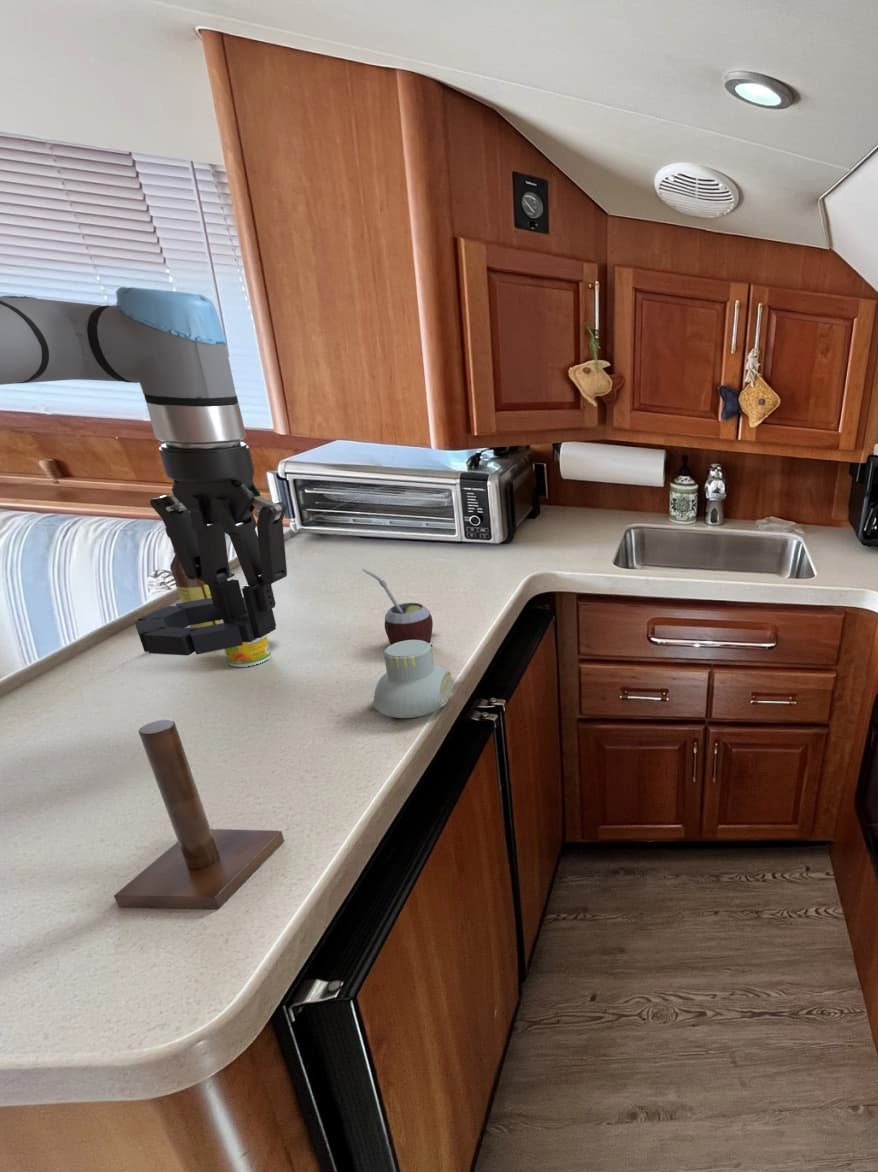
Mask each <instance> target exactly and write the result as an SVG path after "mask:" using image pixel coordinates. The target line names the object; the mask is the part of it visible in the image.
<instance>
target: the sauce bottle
mask: <svg viewBox="0 0 878 1172" xmlns="http://www.w3.org/2000/svg"><path fill="white" fill-rule="evenodd" d="M164 530H165V534H166V536H167V537H168V538H169V540H170V542H171V545H172V548H173V553H174V556H173V558H172V561H171V563H170V566H169V570H170V571H171V574H172V577H173V579H174V582H175V587H176V590H177V592H178V595H179V599H180V601H181V603H183V602H189V601H195V600H201V599H207V598H212V597H211V594H210V590H209V586H208V585H206V584H205V583H204V581H201V580H199V579H194V580H191V579H189V578H188V577H187V576H186V574H185V572H184V570H183V567H182V565H181V562H180V560H179V558H178V555H177V553H176V550H175V548H174V546H173V543H172V541H171V539H170V536H169V534H168V531H167V529H166V527H165V529H164ZM196 566H197V565H196ZM197 567H198V566H197ZM220 621H221V620H217V621H211V622H206V623H201V624H195V625H190V628H199V627H205V626H210V625H215V624H218V623H219V622H220Z"/></svg>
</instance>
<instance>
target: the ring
mask: <svg viewBox="0 0 878 1172" xmlns="http://www.w3.org/2000/svg"><path fill="white" fill-rule="evenodd" d="M242 597H243V601H244V605H245V609H246V613H245V614H243V615H241V616H239V617H237V618H235V619H234V620H232V621H230V622H226V623H221V624H215V625H210V626H205V627H199V628H191V626H190V625H195V624H201V623H206V622H211V621H217V620H223V618H222V615H221V611H220V609H216V607H215V606H214V605H213V600H212V598H207V599H201V600H195V601H189V602H183V603H182V602H177V603H175V605H167V606H164V607H162V608H159V609H157V610H154V611H152V612H151V613H148V614H146V615H143V616H142V617H138V619H137V620H136V621H134V624H135V628H136V631H137V634H138V636H139V640H140V643H141V645H142V648H143V652H144V653H147V652H148V654H150V655H151V654H153V655H168V656H169V655H172V656H191V654H194V653H195V654H196V655H201V654H208V653H211V652H216V651H221V650H225V649H226V648H231V647H236V646H241V645H243V643H242V642H252V641H254V640H256V639H257V638H254V635H253V631H252V627H251V623H250V620H249V616H248V612H247V608H246V604H245V600H244V596H242ZM271 610H272V614H273V618H274V623H275V627H277V623H276V618H275V615H274V614H275V613H274V609H273V608H272V609H271ZM189 626H190V627H189Z"/></svg>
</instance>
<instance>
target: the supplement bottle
mask: <svg viewBox="0 0 878 1172" xmlns="http://www.w3.org/2000/svg"><path fill="white" fill-rule="evenodd" d="M221 623H224V622H223V620H221V621H220V622H219V623H218V624H221ZM242 643H243V645H241V646H236V647H231V648H226V649H224V652H225V656H226V660H227V663H228V665H230V666H231V667H234V668H249V667H248V666H250V667H253V666H252V665H255V666H257V665H256V664H258V665H261V664H263V663H265V662H267V661H268V660H270V659H271V657H272V651H271V647H270V644H269V640H268V637H267V635H265V636H263V637H261V638H257V639H256V640H254V641H252V642H242ZM266 660H267V661H266ZM264 661H265V662H264ZM262 662H263V663H262ZM260 663H261V664H260Z"/></svg>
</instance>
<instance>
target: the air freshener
mask: <svg viewBox="0 0 878 1172" xmlns="http://www.w3.org/2000/svg"><path fill="white" fill-rule="evenodd" d="M383 658H384V664H385V670H386V673H385V674H383V675H382V676H381V677H379V680H378V682H377V684H376V686H375V690H374V694H373V705H374V708H375V710H376V711H378V712H379V713H381V714H383V715H386V716H387V717H392V718H397V719H413V718H419V717H423V716H427V715H430V714H432V713H435V712H437V711H438V710H440V709H442V708H443V707H445V706H446V704H447V703H448V700H449V698H450V694H451V691H452V675H451V672H450V671H449V670H448V669H446V668H445V667H442V666H440V665H436V664H435V662H434V656H433V651H432V646H431V645H430V644H429V643H427V642H425V641H422V640H406V641H401V642H397V643H394V644H392V645H391V644H390V645H388V646H387V647H386V648H385V649H384V650H383Z"/></svg>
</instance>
